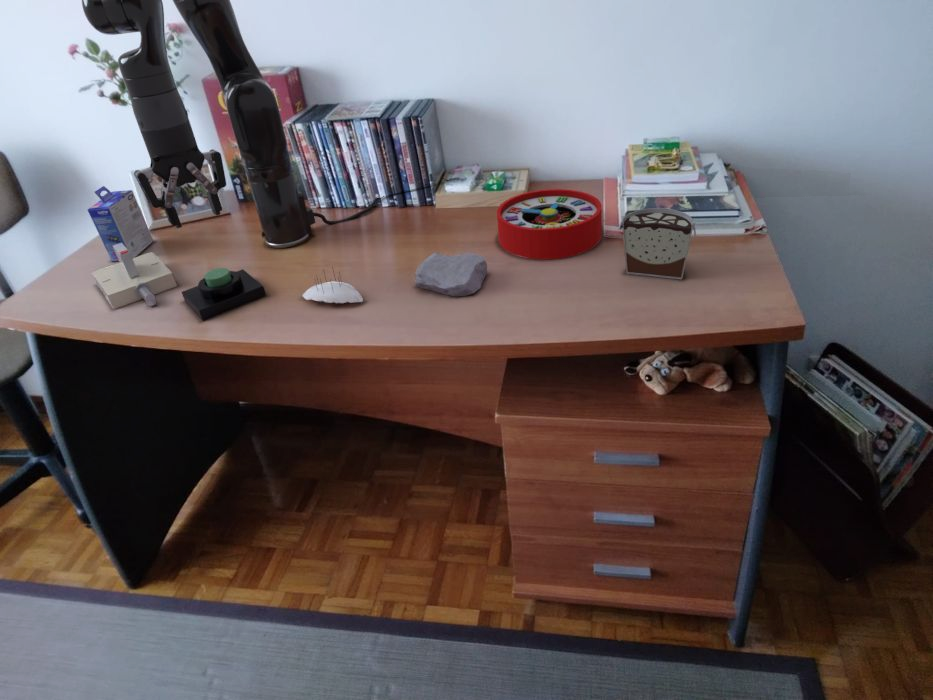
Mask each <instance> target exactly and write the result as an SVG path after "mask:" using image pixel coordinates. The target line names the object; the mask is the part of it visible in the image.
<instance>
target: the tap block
mask: <svg viewBox="0 0 933 700" xmlns="http://www.w3.org/2000/svg"><path fill="white" fill-rule="evenodd" d="M133 261H134V263H135V265H136V268H137V270H138V273H139V275H140V276H137V277H134V278H131V279H130V278H129V276H128V275H127V274H126V273H125V271H124V270H123V269H122V267H121V265H120V262H117V263H114V264H111V265H109V266H105V267H102V268H99V269H97V270H93V271H91V275H92V277H93V280H94V282H95V284H96V286H97V287H98V289H99V290H100V291H101V293H102V294H103V296H104V297H105V299H106V301H107V302H108V303H109V305H110V306H111V308H112V309H113V310H115V309H118V308H122V307H124V306H127V305H129V304H132V303H135V302H137V301H140V300H144V298H143V297H139V296H138V295H137V294H136V292H135V287H136V285H137V284H139V283H142V282H144V283H147V284H149V285H150V287H151V289H152V291H151V292H152V293H153V294H154V295H157V294H159V293H162V292H165V291H168V290H170V289H174V288H176V287H178V285H177V281H176V278H175V277H174V273H173V272H172V271H171V270H170V269H169V268H168V267H167V265H165V264H164V263H163V261H162V260H161V259H159V258H158V256H157V255H156V254H155V253H154V252H152V251H150V252H147V253H144V254H141V255H137V256H136V257H135V258H133Z"/></svg>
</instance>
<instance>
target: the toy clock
mask: <svg viewBox="0 0 933 700" xmlns="http://www.w3.org/2000/svg"><path fill="white" fill-rule="evenodd" d="M602 217H603V206H602V202H601V201H600V200H599V198H598V197H596V196H594V195H592V194H590V193H588V192H584V191H582V190H581V191H580V190H575V189H564V188H548V189H539V190H533V191H528V192H524V193H520V194H517V195H515V196H512V197H510V198H508V199H506V200H505V201H503V202H502V203H500V205H499V206H498V207H497V210H496V221H497V233H498V243H499V245H500V247H501V248H502V249H503V250H504V251H505V252H507V253H508V254H512V255H514V256H517V257H520V258H525V259H531V260H557V259H566V258H570V257H574V256H577V255H580V254H583V253H586V252H588V251H590V250H591V249H593V248H595V247H596V246H597V245H598V244H599V243H600V242H601V239H602V234H603V233H602V232H603V231H602V229H603V228H602V227H603V224H602V223H603V219H602Z"/></svg>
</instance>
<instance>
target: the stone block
mask: <svg viewBox="0 0 933 700" xmlns="http://www.w3.org/2000/svg"><path fill="white" fill-rule="evenodd" d="M487 273H488V263H487V260H486V259H485V257H484V256H483V255H479V254H477V253H472V252H471V253H459V254H457V255H449V254H447V255H446V254H445V255H444V254H443V253H440V252H433V253H432V254H430V255H429V256H428V257H426V258H425V259H424V260H423V261H422V262H421V263H420V264H419V266H418V267H417V269H416V271H415V273H414V284H415V285H416V286H417V287H419V288H421V289H424V290H428V291H433V292H435V293H437V294H442V295H447V296H451V297H456V298H457V297H464V296H465V297H467V296H470V295H472V294H475V293H476V292H478V290H480V289H481V288H482V285H483V282H484V281H485V278H486V276H487Z"/></svg>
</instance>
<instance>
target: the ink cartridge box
mask: <svg viewBox="0 0 933 700" xmlns="http://www.w3.org/2000/svg"><path fill="white" fill-rule="evenodd" d="M102 192H106V193H104V194H103V195H101V194H102ZM94 194H95V195H96V196H97V197H98V198H99V199H100V200H98V201H97V202H95V203H94V204H93V205H91V206H90V207H88V208H87V213H88V214H89V217H90V219H91V220H92V221H91V222H92V224H93V225H94V227H95V229H96V231H97V233H98V235H99V237H100V239H101V241H102V243H103V245H104V248H105V250H106V252H107V254H108V256H109V258H110V260H111V262H119V260H118V258H117V255H116V253H115V251H114V248H113V245H116V244H119V243H122V244H123V245H124V246H125V247H126V248H127V249H128V251H129V252H130V253H131V256H132V258H135V257H138V256H139V254H141V253H142V252H143V251H145V249H146V248H148V247H149V246H150V245H151V244H152V243H153V242H154V238H153V236H152V234H151V231H150V230H149V227H148V224H147V221H146V219H145V217H144V215H143V213H142V210H141V208H140V204H139V203H138V200H137V198H136V196H135V193H134V191H133V189H130V190H113V191H110V190H109V189H108V187H106V186H104V185H103V186H101V187H99V188H97V190H95V191H94Z"/></svg>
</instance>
